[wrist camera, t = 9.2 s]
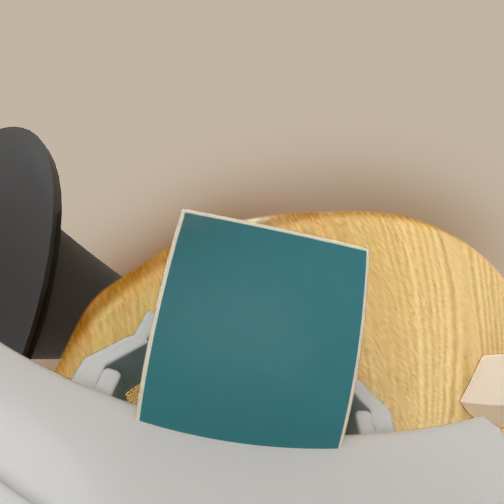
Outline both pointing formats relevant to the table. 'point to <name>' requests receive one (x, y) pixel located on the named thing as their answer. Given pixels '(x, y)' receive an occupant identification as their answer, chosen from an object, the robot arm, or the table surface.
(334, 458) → the robot arm
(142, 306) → the table surface
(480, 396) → the milk
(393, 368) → the table surface
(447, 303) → the table surface
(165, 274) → the carton
